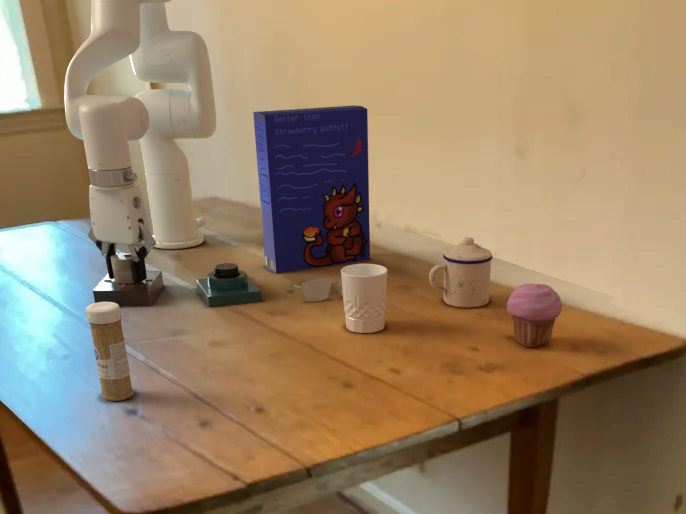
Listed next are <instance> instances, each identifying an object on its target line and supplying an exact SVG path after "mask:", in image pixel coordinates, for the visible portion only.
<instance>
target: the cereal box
mask: <svg viewBox="0 0 686 514" xmlns="http://www.w3.org/2000/svg"><path fill="white" fill-rule="evenodd" d="M252 114H253V126H254V138H255V139H254V140H255V152H256V164H257V177H258V190H259V201H260V213H261V214H260V215H261V227H262V240H263V252H264V266H265V267H266V268H267V269H269V270H270V271H272V272H273V273H274V274H282V273H289V272H296V271H302V270H309V269H317V268H325V267H332V266H338V265H344V264H345V265H346V264H352V263H359V262H367V261H370V260H371V238H370V236H371V232H370V230H371V229H370V227H371V226H370V186H369V185H370V183H369V182H370V178H369V174H370V173H369V172H370V171H369V125H368V121H369V119H368V116H369V115H368V108H367V107H365V106H362V105H356V104H355V105H353V104H352V105H338V106H324V107H323V106H322V107H321V106H320V107H308V108H306V107H305V108H292V109H291V108H290V109H277V110H276V109H275V110H262V111H261V110H260V111H252Z"/></svg>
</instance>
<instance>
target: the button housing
mask: <svg viewBox="0 0 686 514" xmlns="http://www.w3.org/2000/svg"><path fill="white" fill-rule="evenodd" d="M238 273H239V276H237V277H234V278H217V277H215V270H214V271H213V270H212V271H210V272H209V273H208V274H206V278H196V280H195V281H196V290H197V291H198V292H199V294H200V296H201V297H202V298H203V300H204V302H205V303H206V305H207V306H208V308H212V307H213V308H214V307H222V306H232V305H239V304H240V305H241V304H249V303H259V302H262V301H263V299H262V291H261V289H260V288H259V287H258V286H257V284H255V282H254V281H253V280H252V279H251V277H250V276H249V275H248V274H247V272H246V271H244V270H241V269H238Z"/></svg>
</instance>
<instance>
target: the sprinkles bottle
mask: <svg viewBox="0 0 686 514" xmlns="http://www.w3.org/2000/svg"><path fill="white" fill-rule="evenodd" d="M120 307H121V306H119V305H118V304H116V303H113V302H98V303H95V302H93V303H91V304H89V305H87V306H86V308H85V315H86V320H87V321H88V324H89V326H90V332H91V338H92V343H93V350H94V351H93V352H94V356H95V361H96V368H97V373H98V377H99V382H100V388H101V396H102V398H103V399H104V400H106V401H111V402H117V401H118V402H120V401H124V400H126V399H129V398H131V397H132V396H134V389H133V386H132V381H131V375H130V374H131V370H130V365H129V364H130V363H129V357H128V353H127V345H126V340H125V337H124V332H123V326H122V312H121V308H120Z"/></svg>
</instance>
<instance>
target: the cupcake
mask: <svg viewBox="0 0 686 514" xmlns="http://www.w3.org/2000/svg"><path fill="white" fill-rule="evenodd" d="M562 310H563V301H562V300H561V297H560V295H559V293H558V291H556V290H555V289H554V288H553V287H551V286H550V285H548V284H545V283H529V282H528V283H523V284H520V285H518V286H516V287H515V288H514V290H513V291H512V292H511V293H510V296H509V297H508V300H507V302H506V311H507V313H508V314H509V315H510V316H511V319H512V324H513V331H514V335H515V340H516V341H517V342H518V343H519V344H521V345H522V346H523V347H526V348H534V347H538V346H544V345H548V344H549V343H550V342H551V340H552V335H553V329H554V325H555V322H556V319H557V318H558V317H559V316H560V315H561V312H562Z"/></svg>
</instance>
